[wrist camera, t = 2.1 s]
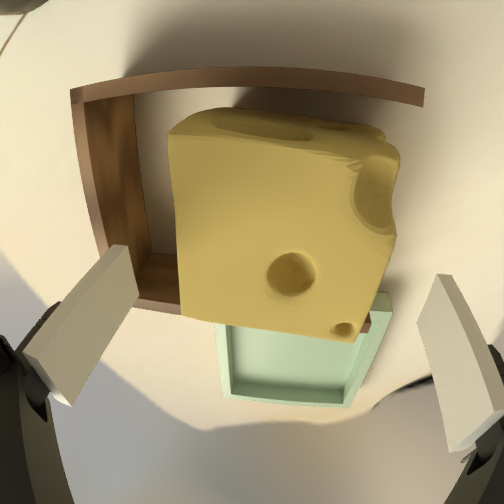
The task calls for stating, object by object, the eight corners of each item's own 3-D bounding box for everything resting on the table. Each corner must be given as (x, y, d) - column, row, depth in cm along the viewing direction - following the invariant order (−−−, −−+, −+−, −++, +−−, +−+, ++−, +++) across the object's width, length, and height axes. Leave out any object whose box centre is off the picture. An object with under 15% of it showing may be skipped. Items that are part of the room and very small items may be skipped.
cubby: (120, 80, 19) (69, 89, 14) (391, 83, 16) (424, 88, 11) (144, 261, 27) (114, 303, 22) (358, 281, 25) (367, 333, 20)
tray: (218, 278, 27) (211, 296, 25) (387, 292, 25) (393, 312, 23) (227, 380, 36) (222, 397, 33) (348, 391, 34) (348, 408, 32)
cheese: (375, 124, 18) (431, 167, 10) (342, 257, 24) (356, 356, 16) (222, 100, 19) (159, 123, 11) (214, 236, 25) (171, 325, 16)
